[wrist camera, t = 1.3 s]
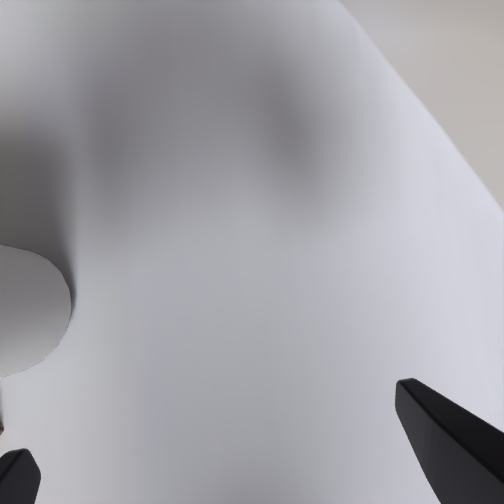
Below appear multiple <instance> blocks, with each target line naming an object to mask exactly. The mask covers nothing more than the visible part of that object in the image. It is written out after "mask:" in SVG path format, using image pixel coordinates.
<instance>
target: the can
mask: <svg viewBox="0 0 504 504" xmlns="http://www.w3.org/2000/svg"><path fill="white" fill-rule="evenodd" d="M71 309H72V308H71V299H70V290H69V288H68V286H67V283H66V281H65V279H64V277H63V275H62V273H61V272H60V271H59V270H58V269H57V268H56V267H55V266H54V265H53V264H52V263H51V262H50V261H49V260H48V259H46V258H44V257H42V256H40V255H38V254H36V253H34V252H32V251H27V250H23V249H18V248H14V247H9V246H4V245H0V378H3V377H6V376H9V375H12V374H15V373H18V372H20V371H23V370H26V369H28V368H29V367H31V366H33V365H35V364H37V363H39V362H41V361H43V360H44V359H45V358H46V357H47V356H48V355H49V354H50V353H51V352H52V351H53V350H54V349H55V348H56V347H57V346H58V345H59V343H60V341H61V339H62V337H63V335H64V334H65V332H66V330H67V328H68V324H69V319H70V314H71Z"/></svg>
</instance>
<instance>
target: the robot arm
mask: <svg viewBox="0 0 504 504" xmlns="http://www.w3.org/2000/svg"><path fill="white" fill-rule="evenodd" d="M395 408H396V412H397V415H398V417H399V419H400V421H401V424H402V426H403V428H404V430H405V432H406V435H407V437H408V439H409V441H410V443H411V446H412V448H413V450H414V452H415V454H416V457H417V459H418V461H419V463H420V465H421V468H422V470H423V472H424V474H425V476H426V478H427V480H428V482H429V484H430V485H431V487H432V489H433V491H434V493H435V494H436V496H437V498H438V499H439V501H440V503H441V504H504V433H503V432H502V431H500V430H499V429H497V428H495V427H494V426H492V425H490V424H489V423H487V422H485V421H484V420H482V419H481V418H479V417H477V416H476V415H474V414H472V413H471V412H469V411H467V410H466V409H464V408H463V407H461V406H459V405H458V404H456V403H454V402H453V401H451V400H449V399H448V398H446V397H444V396H443V395H441V394H440V393H438V392H436V391H435V390H433V389H431V388H430V387H428V386H426V385H425V384H423V383H422V382H420V381H418V380H417V379H414V378H408V379H402V380H399V381H397V383H396V395H395ZM40 480H41V473H40V469H39V467H38V466H37V464H36V462H35V460H34V458H33V456H32V454H31V452H30V451H29V450H28V449H25V448H23V449H18V450H12V451H9V452H7V453H5V454H4V455H3V456H2V457H1V458H0V504H35V500H36V496H37V492H38V489H39V485H40Z"/></svg>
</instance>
